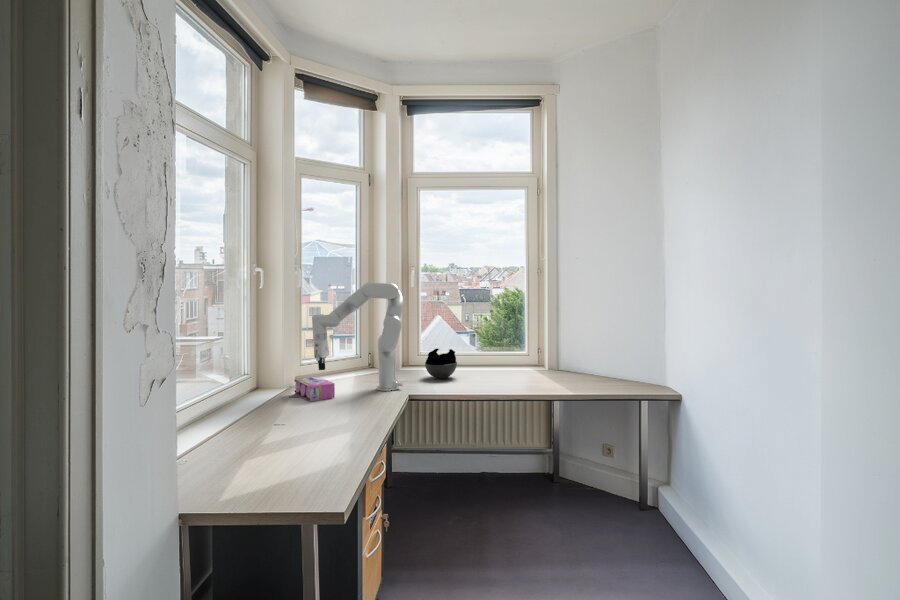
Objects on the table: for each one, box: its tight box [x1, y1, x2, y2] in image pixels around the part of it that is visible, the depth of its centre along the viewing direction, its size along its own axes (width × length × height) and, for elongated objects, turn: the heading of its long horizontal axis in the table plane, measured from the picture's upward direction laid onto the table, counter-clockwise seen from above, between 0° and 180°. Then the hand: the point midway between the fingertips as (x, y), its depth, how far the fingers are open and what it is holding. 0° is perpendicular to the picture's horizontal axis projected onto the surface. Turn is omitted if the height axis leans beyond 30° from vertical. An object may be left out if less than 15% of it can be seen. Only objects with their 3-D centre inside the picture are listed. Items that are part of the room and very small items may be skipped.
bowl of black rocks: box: [424, 348, 458, 380], centre depth 313 cm, size 20×20×19 cm
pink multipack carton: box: [293, 375, 336, 402], centre depth 270 cm, size 24×8×14 cm
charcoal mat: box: [288, 392, 305, 399], centre depth 279 cm, size 15×25×1 cm, turn 170°
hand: (322, 369), depth 278 cm, fingers closed
